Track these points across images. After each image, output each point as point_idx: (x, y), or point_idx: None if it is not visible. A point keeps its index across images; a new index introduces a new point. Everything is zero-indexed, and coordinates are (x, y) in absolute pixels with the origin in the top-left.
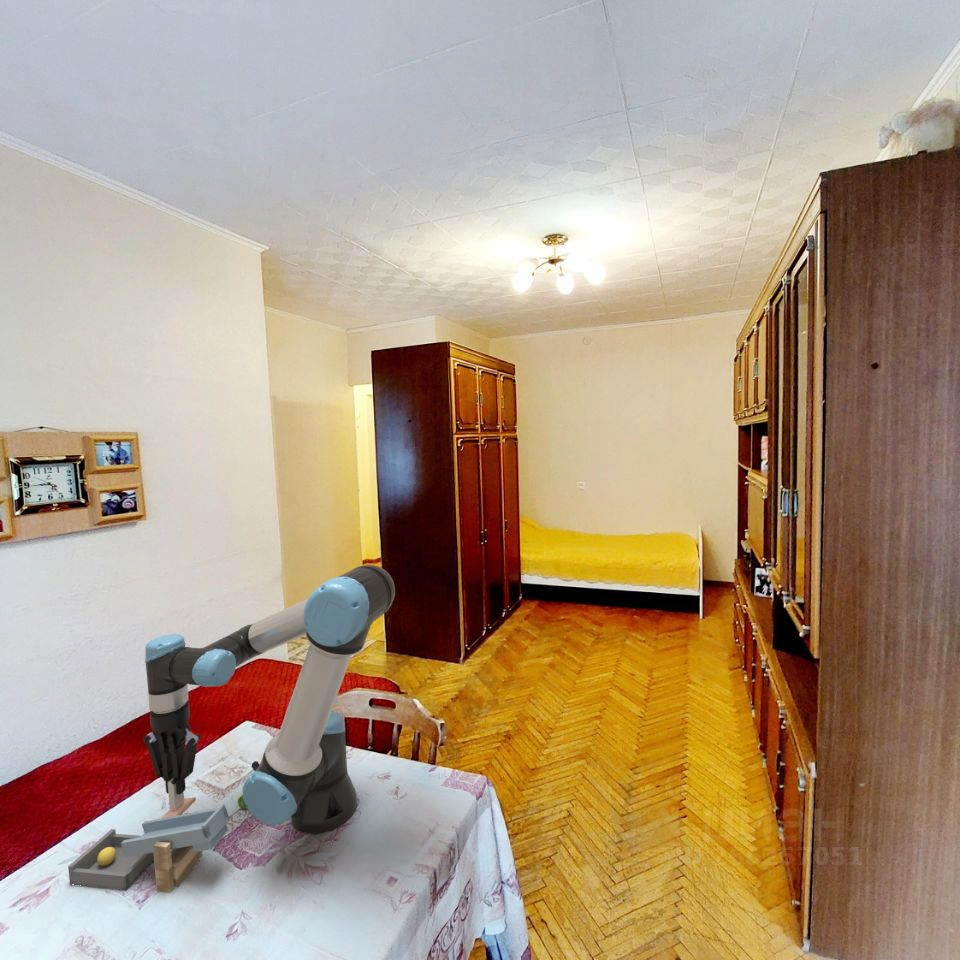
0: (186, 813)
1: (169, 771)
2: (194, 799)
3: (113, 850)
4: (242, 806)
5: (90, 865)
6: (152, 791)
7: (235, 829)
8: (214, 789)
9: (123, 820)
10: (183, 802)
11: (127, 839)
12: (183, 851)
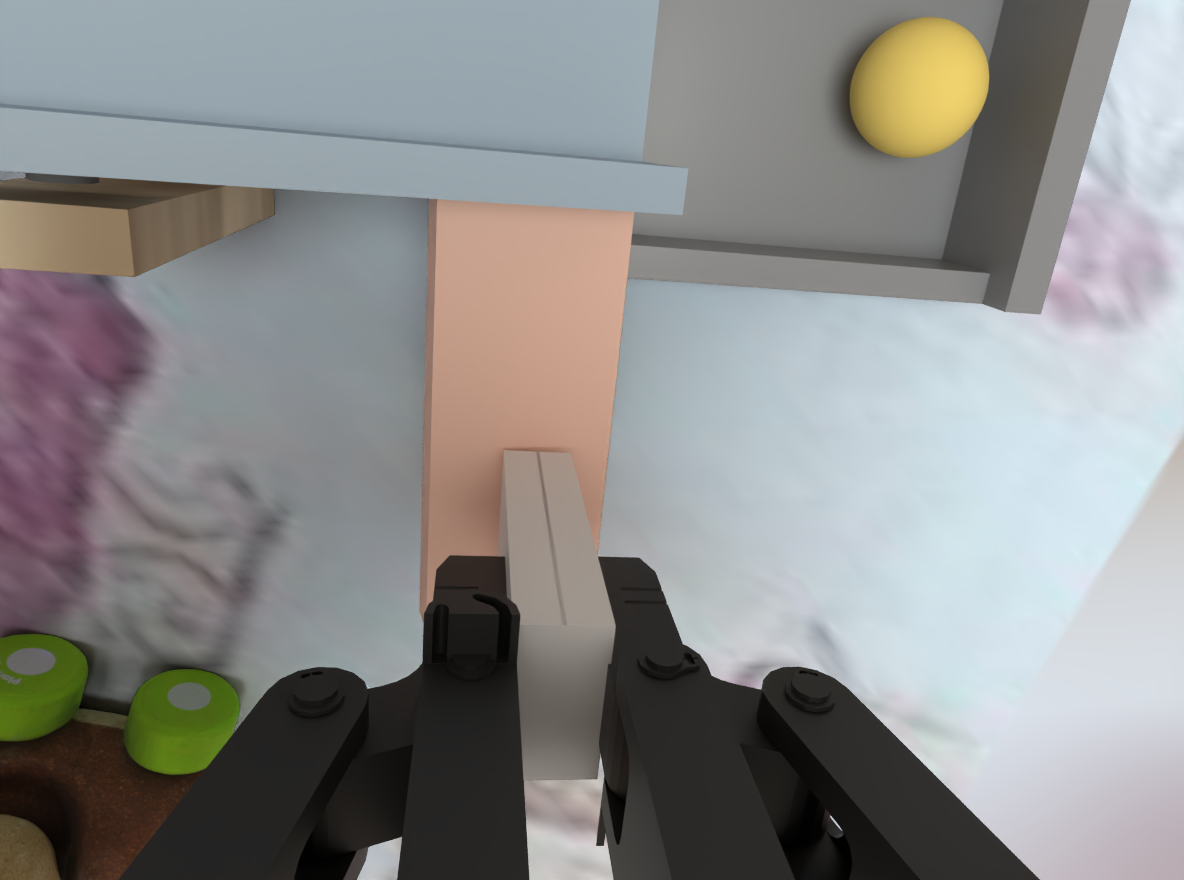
0: (118, 264)
1: (629, 774)
2: (424, 607)
3: (885, 110)
4: (192, 680)
5: (1002, 47)
6: (981, 748)
7: (86, 480)
8: (560, 803)
9: (1024, 512)
10: (497, 555)
11: (850, 260)
12: None
